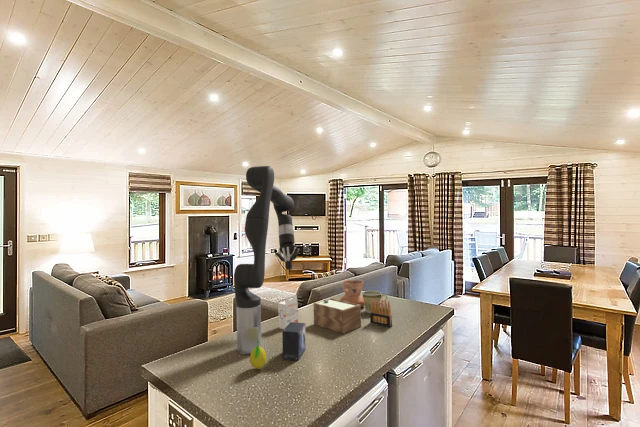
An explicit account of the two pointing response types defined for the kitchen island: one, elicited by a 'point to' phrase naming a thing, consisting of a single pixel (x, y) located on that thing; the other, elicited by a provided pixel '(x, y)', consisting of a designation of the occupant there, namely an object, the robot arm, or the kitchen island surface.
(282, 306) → the ink cartridge box
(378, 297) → the ceramic cup
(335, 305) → the lid
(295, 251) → the robot arm
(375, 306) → the ammunition clip
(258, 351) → the lemon
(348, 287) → the ceramic jug
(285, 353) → the small box
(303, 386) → the kitchen island surface
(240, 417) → the kitchen island surface
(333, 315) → the wooden box
